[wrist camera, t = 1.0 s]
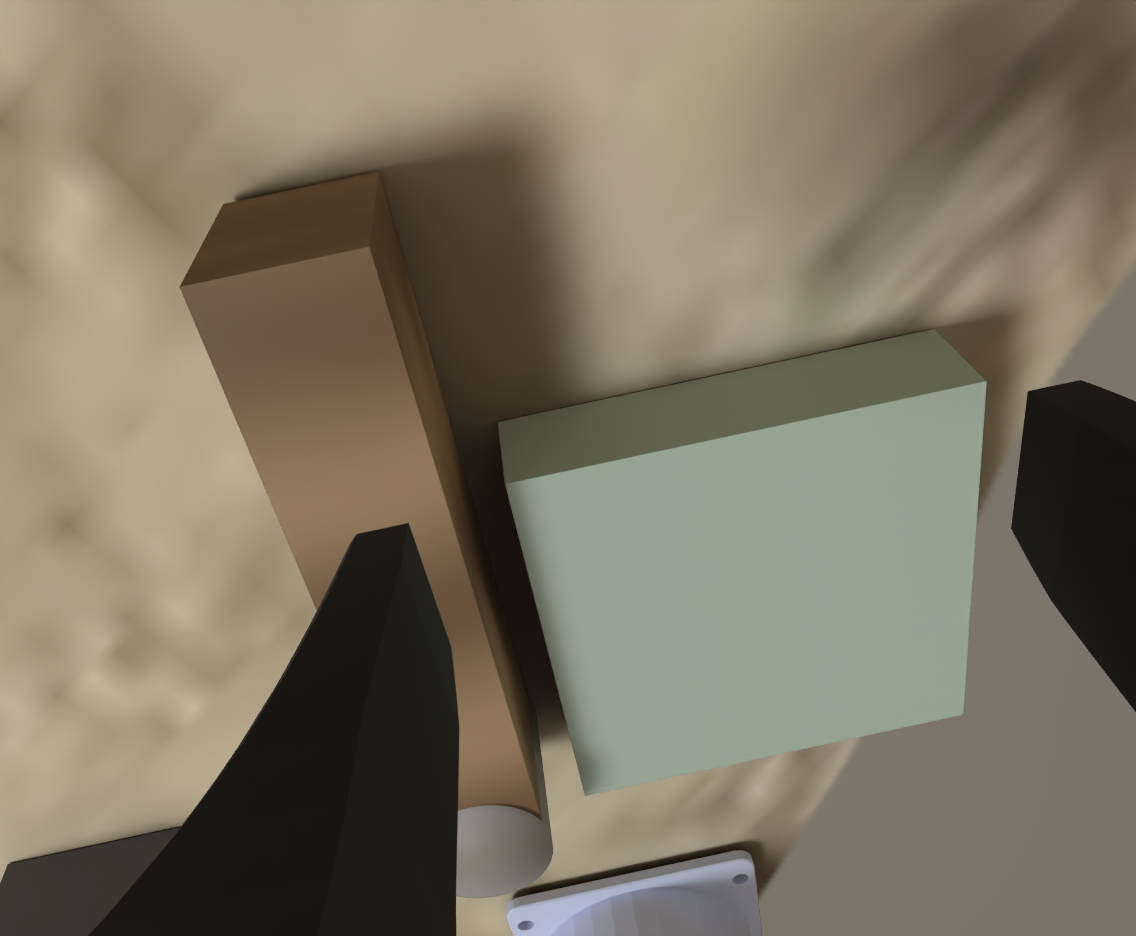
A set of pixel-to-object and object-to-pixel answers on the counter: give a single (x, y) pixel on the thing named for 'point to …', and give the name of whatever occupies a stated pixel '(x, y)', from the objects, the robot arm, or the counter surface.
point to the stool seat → (754, 556)
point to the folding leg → (372, 465)
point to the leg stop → (73, 886)
